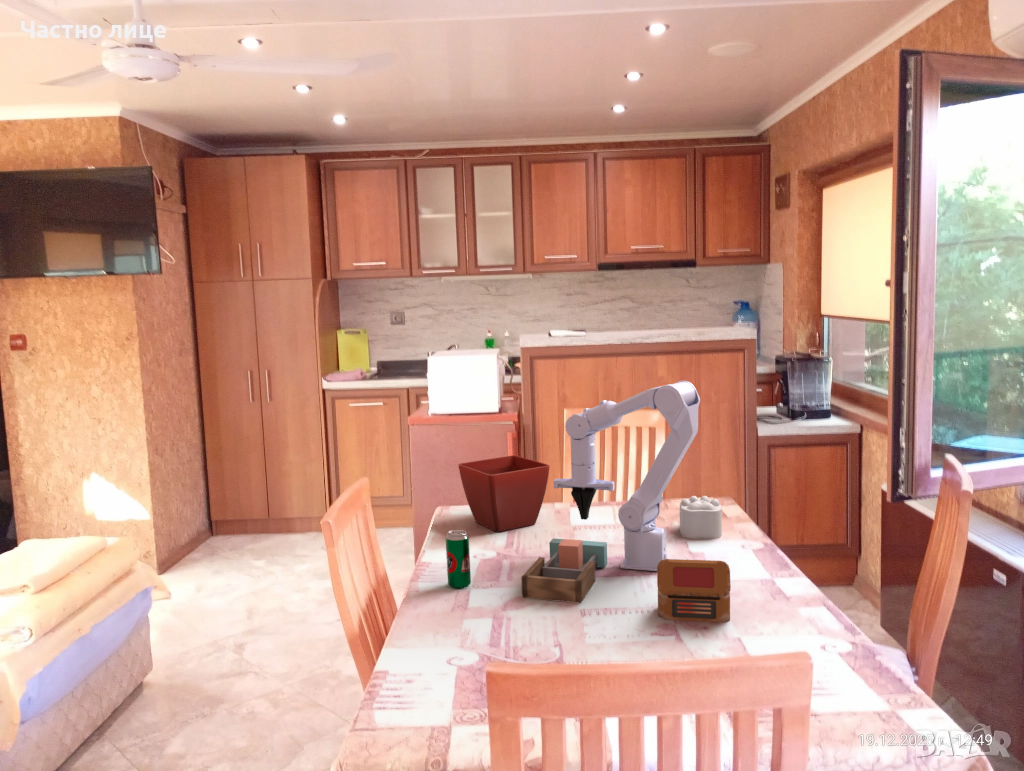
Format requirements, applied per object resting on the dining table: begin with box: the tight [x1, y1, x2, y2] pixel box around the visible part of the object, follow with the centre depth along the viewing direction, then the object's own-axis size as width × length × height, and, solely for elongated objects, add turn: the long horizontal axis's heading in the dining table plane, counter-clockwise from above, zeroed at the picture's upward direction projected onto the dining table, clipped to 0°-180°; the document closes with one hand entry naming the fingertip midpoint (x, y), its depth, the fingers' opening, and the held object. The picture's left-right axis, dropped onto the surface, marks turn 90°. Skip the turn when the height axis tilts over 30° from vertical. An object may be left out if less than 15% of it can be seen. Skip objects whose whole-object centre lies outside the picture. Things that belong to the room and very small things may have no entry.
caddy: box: [521, 556, 596, 604], centre depth 163 cm, size 13×12×4 cm
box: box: [656, 558, 731, 623], centre depth 148 cm, size 28×28×12 cm
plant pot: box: [458, 454, 550, 532], centre depth 212 cm, size 19×19×17 cm
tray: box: [542, 538, 608, 580], centre depth 173 cm, size 13×14×5 cm
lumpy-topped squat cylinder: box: [679, 495, 723, 540], centre depth 199 cm, size 10×13×9 cm
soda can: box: [445, 529, 472, 590], centre depth 167 cm, size 5×5×12 cm
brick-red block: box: [558, 538, 583, 570], centre depth 172 cm, size 4×4×6 cm
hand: (584, 518), depth 184 cm, fingers closed
